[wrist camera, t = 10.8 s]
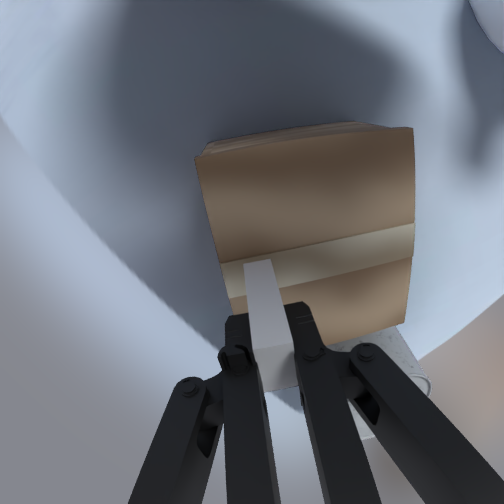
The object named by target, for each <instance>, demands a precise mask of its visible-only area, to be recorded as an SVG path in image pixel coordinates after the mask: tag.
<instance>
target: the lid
mask: <svg viewBox="0 0 504 504" xmlns="http://www.w3.org/2000/svg"><path fill="white" fill-rule="evenodd" d="M194 160H195V165H196V169H197V173H198V178H199V182H200V186H201V190H202V194H203V199H204V203H205V207H206V211H207V215H208V219H209V223H210V227H211V231H212V235H213V239H214V243H215V247H216V251H217V255H218V259H219V263H220V267H221V271H222V275H223V279H224V282H225V286H226V290H227V294H228V297H229V300H230V304H231V308H232V311H233V315H237V314H243V313H248V303H247V294H246V285H245V276H244V267H243V264H245V263H250V262H256V261H261V260H266V259H271V262H272V266H273V270H274V273H275V277H276V281H277V284H278V288H279V291H280V295H281V299H282V302H283V305H286V304H290V303H295V302H300V301H303V302H304V303H306V304H307V305H308V306H309V307H310V310H311V312H312V315H313V318H314V321H315V323H316V326H317V328H318V331H319V334H320V336H321V339H322V342H323V343H324V345H325V346H327V345H331V344H335V343H338V342H342V341H346V340H349V339H353V338H356V337H360V336H363V335H366V334H370V333H373V332H376V331H380V330H383V329H386V328H389V327H392V326H395V325H398V324H401V323H404V320H405V314H406V307H407V300H408V292H409V284H410V275H411V265H412V256H413V251H414V237H415V223H414V221H415V153H414V135H413V128H409V127H394V128H379V129H367V130H356V131H346V132H337V133H328V134H320V135H312V136H305V137H298V138H291V139H285V140H279V141H273V142H267V143H261V144H255V145H250V146H245V147H239V148H234V149H229V150H225V151H220V152H215V153H211V154H206V155H202V156H197V157H195V159H194Z"/></svg>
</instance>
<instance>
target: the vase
mask: <svg viewBox="0 0 504 504" xmlns="http://www.w3.org/2000/svg"><path fill="white" fill-rule="evenodd" d="M469 3H470V5H471V7H472V10H473V12H474V15H475V17H476V19H477V21H478V23H479V25H480V26H481V28H482V29H483V31H484V32H485V34H486V36H487V37H488V39H489V40H490V41H491V42H492V43H493V44H494V45H495V46H496V47H497V48H498V50H499V51H500V52H502V53H504V0H469Z"/></svg>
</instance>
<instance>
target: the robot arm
mask: <svg viewBox="0 0 504 504" xmlns="http://www.w3.org/2000/svg"><path fill="white" fill-rule="evenodd" d="M243 267H244V276H245V285H246V294H247V303H248V313H243V314H237V315H232V316H229V317H228V319H227V321H226V323H225V347H223V348H222V349H221V350H220V351H219V353H218V360H219V363H220V365H221V368H222V371H221V372H220V373H219V374H217V375H216V376H214V377H212V378H210V379H207V380H204V381H203V380H202V379H201V378H198V377H187V378H185V379H182V380H181V381H180V382H178V383H177V384H176V386H175V388H174V390H173V392H172V394H171V397H170V399H169V402H168V404H167V407H166V409H165V412H164V414H163V417H162V419H161V421H160V424H159V426H158V429H157V431H156V434H155V436H154V438H153V441H152V443H151V446H150V449H149V451H148V454H147V456H146V458H145V461H144V464H143V466H142V468H141V471H140V474H139V476H138V479H137V481H136V484H135V486H134V489H133V491H132V494H131V497H130V499H129V502H128V504H202V500H203V497H204V493H205V489H206V486H207V482H208V478H209V475H210V471H211V467H212V464H213V460H214V456H215V453H216V449H217V445H218V441H219V438H220V434H221V430H222V426H223V423H224V441H225V468H226V489H227V504H281V500H280V494H279V487H278V481H277V474H276V467H275V461H274V453H273V447H272V440H271V433H270V426H269V419H268V413H267V405H266V400H265V397H264V392H270V391H275V390H281V389H286V388H291V387H296V386H299V389H300V397H301V406H303V410H304V414H305V418H306V423H307V427H308V431H309V436H310V440H311V444H312V449H313V453H314V457H315V462H316V466H317V471H318V475H319V480H320V484H321V488H322V493H323V497H324V502H325V504H382V503H381V500H380V497H379V494H378V490H377V487H376V484H375V481H374V478H373V475H372V472H371V469H370V465H369V462H368V459H367V456H366V453H365V450H364V447H363V444H362V442H361V439H360V436H359V433H358V430H357V427H356V424H355V421H354V418H353V415H352V412H351V410H350V407H349V404H348V401H347V399H348V400H349V401H350V403H351V404H352V405H353V407H354V408H355V409H356V411H357V412H358V413H359V415H360V416H361V418H362V419H363V420H364V422H365V423H366V424H367V426H368V427H369V428H370V430H371V431H372V432H373V434H374V435H375V437H376V438H377V439H378V441H379V442H380V443H381V445H382V446H383V447H384V449H385V450H386V451H387V453H388V454H389V455H390V457H391V458H392V460H393V461H394V462H395V464H396V465H397V466H398V467H399V469H400V470H401V472H402V473H403V474H404V476H405V477H406V478H407V480H408V481H409V482H410V484H411V485H412V486H413V488H414V489H415V490H416V492H417V493H418V494H419V496H420V497H421V498H422V500H423V501H424V502H425V504H504V481H503V480H502V478H501V477H500V476H499V475H498V474H497V473H496V472H495V470H494V469H493V468H492V467H491V466H490V465H489V464H488V462H487V461H486V460H485V459H484V458H483V457H482V456H481V455H480V453H479V452H478V451H477V450H476V449H475V448H474V447H473V446H472V445H471V444H470V442H469V441H468V440H467V439H466V438H465V437H464V436H463V435H462V434H461V433H460V431H459V430H458V429H457V428H456V427H455V426H454V425H453V424H452V423H451V422H450V421H449V419H448V418H447V417H446V416H445V415H444V414H443V413H442V412H441V411H440V410H439V409H438V408H437V407H436V405H435V404H434V403H433V402H432V401H431V400H430V399H429V398H428V397H427V396H426V395H425V394H424V393H423V392H422V390H421V389H420V388H419V387H418V386H417V385H416V384H415V383H414V382H413V381H412V380H411V379H410V378H409V377H408V376H407V375H406V374H405V373H404V372H403V370H402V369H401V368H400V367H399V366H398V365H397V364H396V363H395V362H394V361H393V360H392V359H391V358H390V357H389V356H388V355H387V354H386V353H385V352H384V351H383V350H382V349H381V348H380V347H379V346H378V345H376V344H373V343H370V342H368V343H360V344H357V345H356V346H354V347H353V348H352V350H351V351H350V352H338V351H333V350H331V349H329V348H327V347H326V346H325V345H324V343H323V342H322V339H321V336H320V334H319V331H318V328H317V326H316V323H315V321H314V318H313V315H312V312H311V310H310V307H309V306H308V305H307V304H306V303H304V302H303V301H300V302H295V303H290V304H286V305H283V302H282V299H281V295H280V291H279V288H278V284H277V281H276V277H275V273H274V270H273V266H272V262H271V259H266V260H261V261H256V262H250V263H245V264H243Z"/></svg>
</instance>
